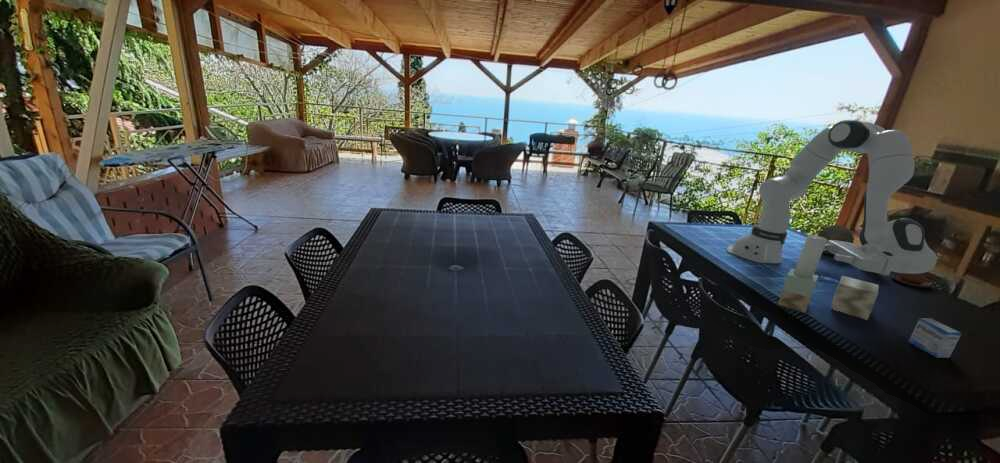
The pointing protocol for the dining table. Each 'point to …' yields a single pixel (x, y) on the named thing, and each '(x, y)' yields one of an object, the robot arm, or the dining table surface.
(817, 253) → the canister
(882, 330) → the dining table surface
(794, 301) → the tower block lower
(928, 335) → the medicine box
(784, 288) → the tower block upper
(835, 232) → the cantaloupe
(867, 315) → the shelf block
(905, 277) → the cup and saucer
